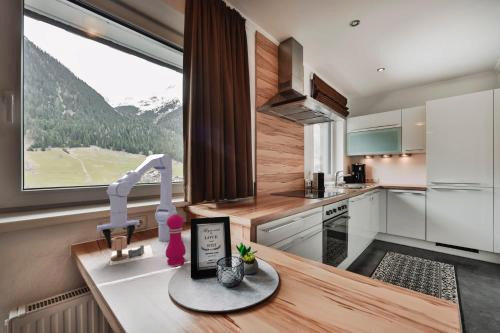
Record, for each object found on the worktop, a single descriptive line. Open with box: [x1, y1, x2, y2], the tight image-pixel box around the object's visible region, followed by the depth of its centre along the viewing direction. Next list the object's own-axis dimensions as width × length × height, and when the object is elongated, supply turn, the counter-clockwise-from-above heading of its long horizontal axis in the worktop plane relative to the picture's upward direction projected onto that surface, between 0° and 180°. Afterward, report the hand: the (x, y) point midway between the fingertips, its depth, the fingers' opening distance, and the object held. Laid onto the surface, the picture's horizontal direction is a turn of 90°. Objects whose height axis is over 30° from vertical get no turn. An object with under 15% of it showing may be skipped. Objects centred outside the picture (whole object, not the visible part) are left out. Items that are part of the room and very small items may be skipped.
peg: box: [110, 250, 128, 261], centre depth 87 cm, size 6×6×5 cm
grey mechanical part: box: [128, 245, 145, 258], centre depth 90 cm, size 6×5×3 cm
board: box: [109, 244, 154, 266], centre depth 91 cm, size 15×16×1 cm
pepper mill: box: [165, 210, 187, 268], centre depth 82 cm, size 7×7×20 cm
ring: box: [110, 235, 128, 252], centre depth 87 cm, size 6×6×4 cm
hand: (119, 246), depth 87 cm, fingers closed on ring, 6 cm apart
